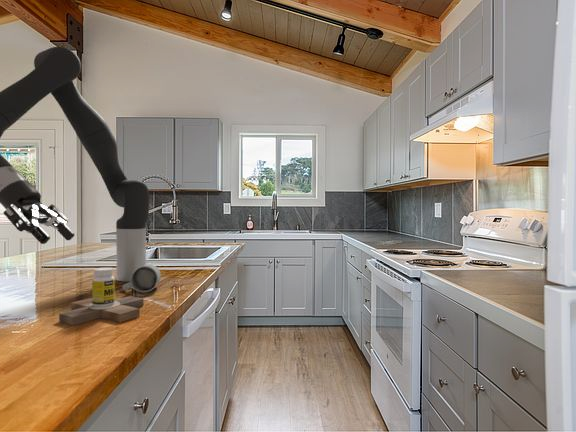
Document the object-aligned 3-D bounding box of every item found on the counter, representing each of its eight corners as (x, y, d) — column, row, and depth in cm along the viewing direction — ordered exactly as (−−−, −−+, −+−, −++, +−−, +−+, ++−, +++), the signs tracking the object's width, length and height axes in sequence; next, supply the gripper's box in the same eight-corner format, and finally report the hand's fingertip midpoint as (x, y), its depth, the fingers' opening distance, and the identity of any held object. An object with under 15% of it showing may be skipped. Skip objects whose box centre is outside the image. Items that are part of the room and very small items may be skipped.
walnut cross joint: (42, 317, 84) (42, 308, 84) (114, 299, 100) (114, 292, 100) (91, 331, 76) (91, 321, 76) (161, 309, 91) (161, 301, 91)
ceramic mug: (162, 286, 117) (161, 261, 117) (158, 292, 109) (157, 265, 109) (125, 287, 115) (125, 262, 115) (119, 294, 107) (118, 267, 107)
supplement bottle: (105, 308, 85) (105, 271, 85) (87, 306, 86) (87, 270, 86) (119, 302, 90) (119, 267, 89) (101, 301, 91) (101, 266, 90)
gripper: (-3, 176, 81) (48, 230, 81) (45, 180, 95) (88, 226, 95) (-25, 201, 82) (25, 254, 81) (25, 201, 96) (68, 247, 95)
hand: (59, 239), depth 88 cm, fingers open, 8 cm apart
